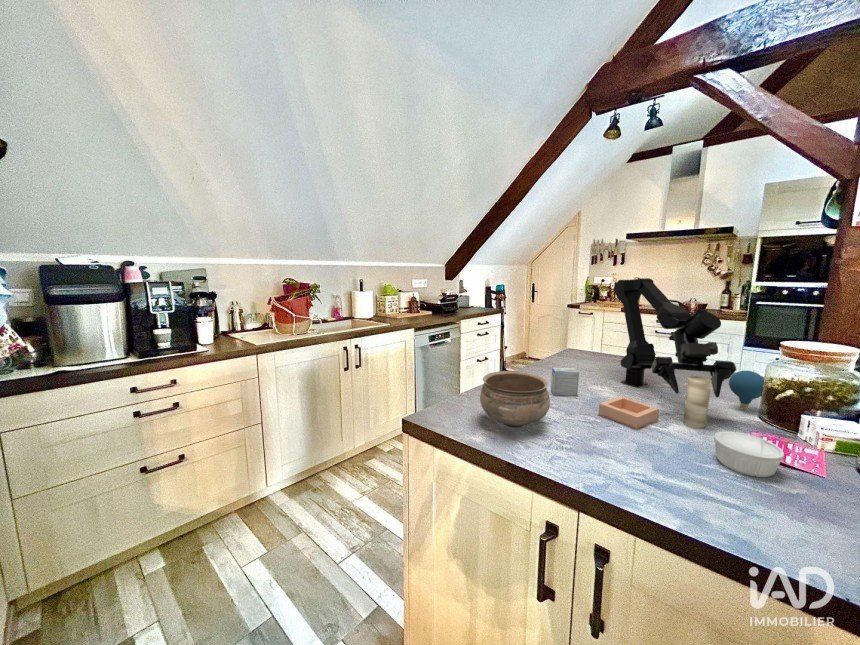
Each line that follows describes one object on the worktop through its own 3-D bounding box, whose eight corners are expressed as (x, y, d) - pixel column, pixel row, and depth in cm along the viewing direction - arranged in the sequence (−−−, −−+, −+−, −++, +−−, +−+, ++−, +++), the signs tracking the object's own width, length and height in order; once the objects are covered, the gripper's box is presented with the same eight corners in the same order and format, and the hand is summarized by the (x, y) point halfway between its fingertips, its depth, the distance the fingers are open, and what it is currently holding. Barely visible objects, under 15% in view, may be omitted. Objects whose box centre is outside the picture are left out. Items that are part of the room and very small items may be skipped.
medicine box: (573, 391, 121) (575, 367, 119) (577, 396, 116) (579, 371, 115) (550, 391, 122) (551, 367, 120) (553, 395, 117) (554, 371, 116)
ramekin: (795, 484, 70) (799, 459, 69) (732, 478, 72) (735, 454, 71) (755, 454, 81) (758, 433, 80) (701, 450, 83) (703, 429, 82)
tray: (620, 406, 108) (621, 396, 107) (658, 420, 98) (659, 408, 98) (598, 414, 102) (599, 403, 102) (636, 429, 93) (637, 417, 92)
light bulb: (753, 405, 108) (759, 368, 106) (769, 417, 100) (775, 376, 98) (720, 402, 110) (725, 366, 108) (733, 413, 103) (739, 374, 101)
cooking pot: (492, 401, 113) (493, 364, 111) (554, 411, 105) (556, 372, 103) (466, 434, 91) (466, 390, 89) (541, 450, 83) (544, 402, 81)
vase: (688, 419, 99) (693, 375, 97) (709, 425, 95) (715, 380, 93) (679, 423, 97) (684, 378, 94) (700, 430, 92) (706, 383, 90)
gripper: (657, 329, 100) (665, 377, 92) (737, 332, 94) (754, 385, 86) (648, 349, 109) (654, 395, 100) (721, 354, 103) (734, 403, 94)
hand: (697, 394), depth 95 cm, fingers open, 9 cm apart
